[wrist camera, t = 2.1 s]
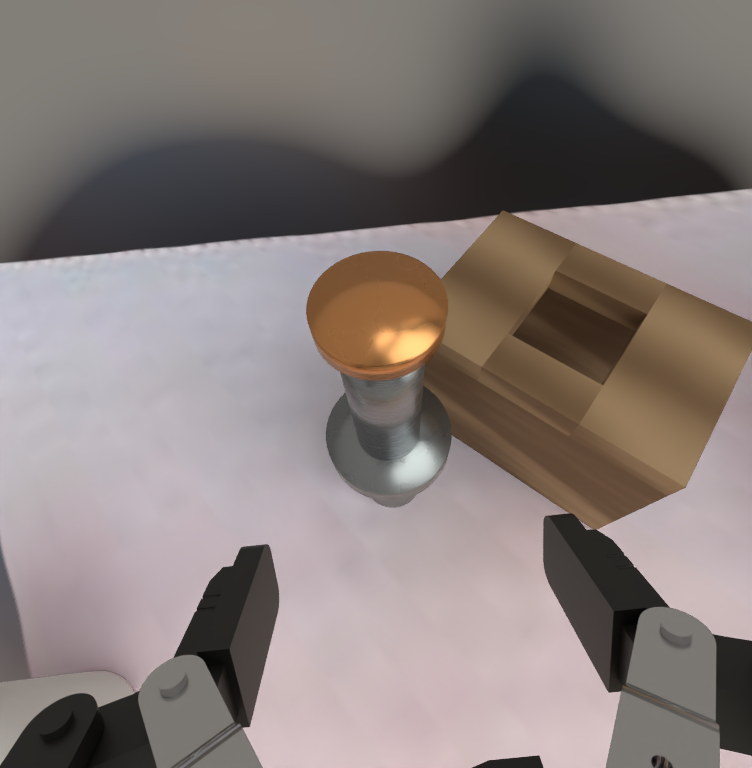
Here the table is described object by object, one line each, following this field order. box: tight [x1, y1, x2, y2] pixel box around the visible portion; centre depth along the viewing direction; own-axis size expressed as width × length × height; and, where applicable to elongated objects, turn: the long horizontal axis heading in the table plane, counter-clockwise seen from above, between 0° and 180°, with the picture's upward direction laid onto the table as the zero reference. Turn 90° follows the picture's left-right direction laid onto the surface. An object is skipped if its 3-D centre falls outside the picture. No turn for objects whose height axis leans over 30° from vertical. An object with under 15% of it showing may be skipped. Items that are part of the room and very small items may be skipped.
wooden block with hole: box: [423, 211, 752, 530], centre depth 30 cm, size 11×16×11 cm
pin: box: [306, 251, 451, 507], centre depth 23 cm, size 7×7×20 cm
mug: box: [0, 671, 134, 765], centre depth 21 cm, size 10×7×12 cm, turn 95°
